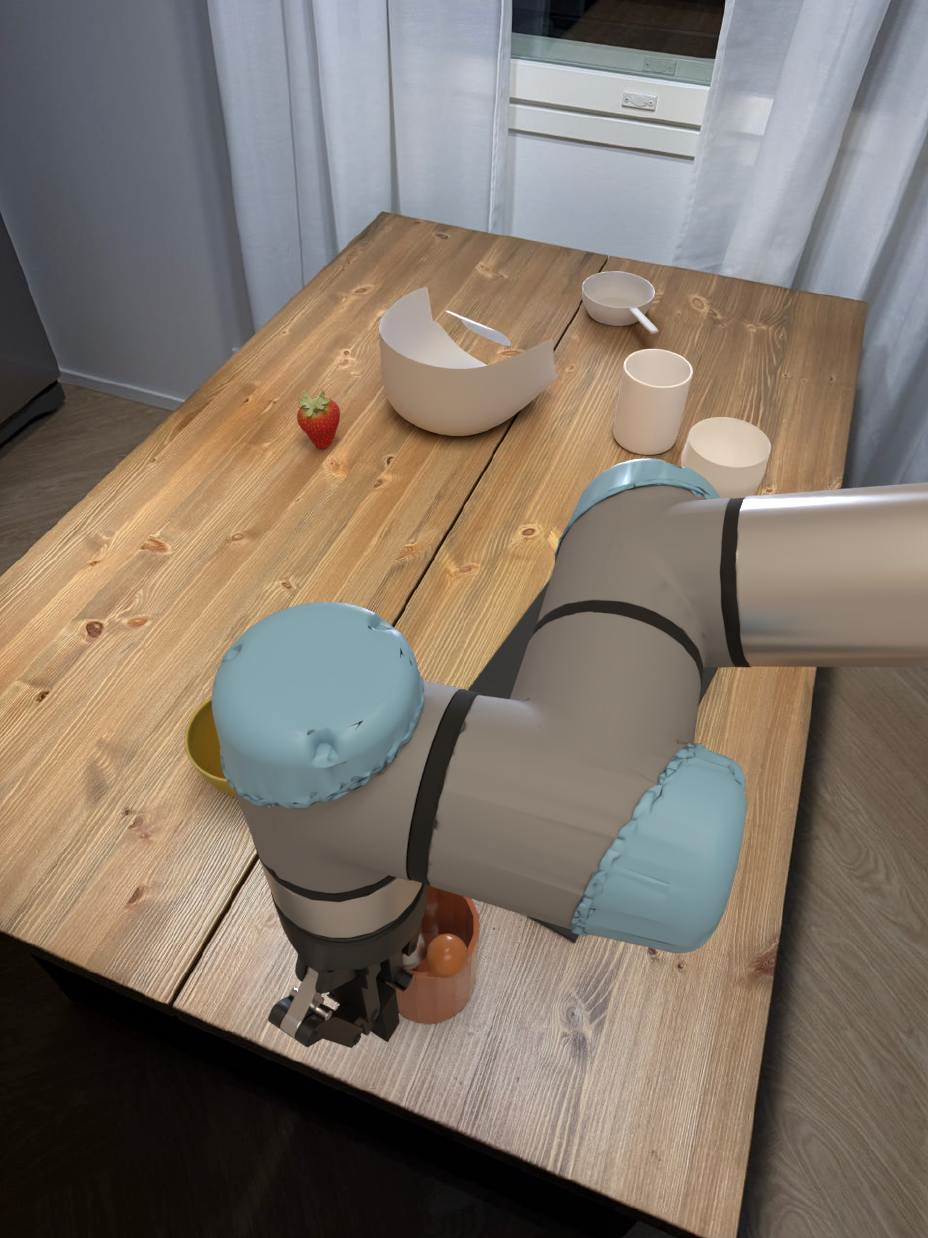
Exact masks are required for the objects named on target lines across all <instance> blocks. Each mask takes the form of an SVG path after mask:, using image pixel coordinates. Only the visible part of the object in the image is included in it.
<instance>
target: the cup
mask: <svg viewBox="0 0 928 1238" xmlns="http://www.w3.org/2000/svg"><path fill="white" fill-rule="evenodd" d="M771 450H772V444H771V441H770V439H769V437H768V436H767V434H766V433H765V432H764V431H763V430H762V429H760V428H759V427H758V426H756V425H755V424H752V423H750V422H748V421H745V420H743V419H739V418H735V417H730V416H714V417H707V418H704V419H702V420H699V421H698V422H696V423H695V424H694V425H693V426H692V427H691V428H690V430H689V433H688V436H687V438H686V442H685V445H684V447H683V449H682V453H681V458H680V467H685V466H686V467H688V468H690V469H692V470H694V471H696V472H697V473H699V474H700V475H701V476H703V477H704V478H705V479H706V480H707V481H708V482H709V483H710V484H711V485H712V486H713V487H714V489H715V490H716V491H717V493H718V495H719V496H720V498H733V499H734V498H746V497H747V496H755V494H756V491H757V490H758V489H759V486H760V484H761V483H762V480H763V479H764V477H765V474H766V471H767V466H768V461H769V459H770V455H771Z"/></svg>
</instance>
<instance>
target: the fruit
mask: <svg viewBox="0 0 928 1238" xmlns="http://www.w3.org/2000/svg"><path fill="white" fill-rule="evenodd" d="M302 395H303V396H304V399H305V400H302V398H300V397H298V398H297V399H298V400H297V402H298V404H299V405H300V406H299V405H298V406H297V407H298V411H297V412H296V419H297V424H298V426H299V427H300V429H301V430H302V431H303V432H304V433H305V434H306V435H307V437H308V438H309V440H310V442H311V443H312V444H313V445H314V446H315V448H317V449H321V450H323V449H327V448H329V447H330V446H331V445H332V443H333V441H334V439H335V437H336V433H337V431H338V427H339V424H340V418H341V409H340V406H339V405H338V403H336V401H334V400H333V399H332V397H329V398H328V397H325V396H326V393H325V391H324V390H323V389H321V392H320V393H319V395H317V396H315V397H311V396H310V394H308V392H307V391H305V389H304V388H303V389H302Z"/></svg>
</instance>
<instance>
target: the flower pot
mask: <svg viewBox="0 0 928 1238" xmlns="http://www.w3.org/2000/svg"><path fill="white" fill-rule="evenodd" d="M183 740H184V741H183V743H184V744H183V745H184V749H185V753H186V755H187V758H188V760H189V762H190V763H191V764H192V766H193V767H194V769H195V770H196V771H197V772H198V773H199V775H200V776H202V778H203V779H205V781H207V782H208V783H209V784H210V785H211V786H213V787H214V788H216V789H217V790H219V791H221V792H222V793H225V794H227V795H229V796H231V797H235V798H237V797H236V794H235V792H234V790H233V789H232V788H231V786H230V782H229V783H228V782H227V780H226V778H225V776H224V773H223V771H222V766H221V756H220V749H221V747H220V743H219V738H218V734H217V730H216V726H215V721H214V717H213V712H212V696H210V697H209V698H207V699H206V700H205V701H204V702H203V703H201V704H200V705H199V706H198V707H197V708H196V709H195V711H194V712H193V714H192V715H191V716H190V718H189V720H188V722H187V725H186V728H185V731H184V737H183Z"/></svg>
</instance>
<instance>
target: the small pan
mask: <svg viewBox="0 0 928 1238" xmlns="http://www.w3.org/2000/svg"><path fill="white" fill-rule="evenodd" d="M581 288H582V289H581V300H582V302H583V305H584V307H585V309H586V311H587V314H588V316H590V318H592V319H593V320H594V321H596V322H598V323H601V324H604V325H608V326H613V327H619V326H620V327H624V326H629V325H633V324H636V323H638V322H639V323H640V324H641V325H642V326H643V328H645V330H647V331H648V332H649V334H651V335H653V334H658V333H659V329H658V328H657V327H656V326H655V325H654V323H652V322H651V320H650V319H648V317H646V316H645V315H646V314H647V313H648V311H649V310H650V309H651V308H652V304H653V302H654V298H655V294H656V293H655V292H656V291H655V288H654V286H653V284H652V283H650V282H649V280H647V279H646V278H643V277H641V276H639V275H637V274H634V273H630V272H626V271H616V270H615V271H614V270H613V271H610V270H609V271H601V272H598V273H595V274H592V275H590V276H588V277H587V278H586V279H585V280H584V281H583V283H582V285H581Z"/></svg>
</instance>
